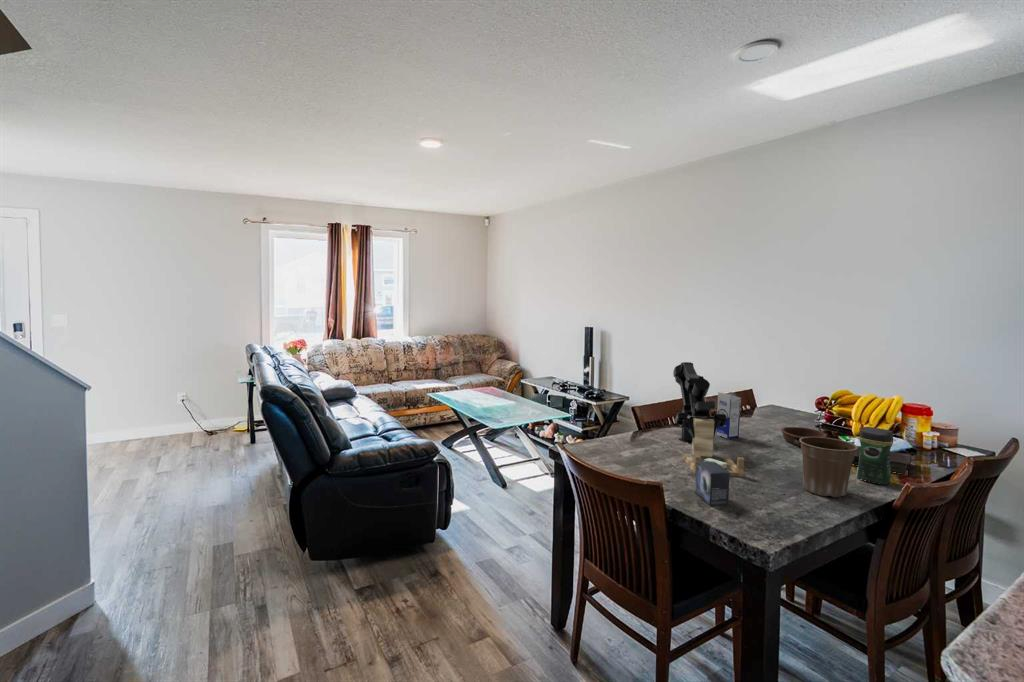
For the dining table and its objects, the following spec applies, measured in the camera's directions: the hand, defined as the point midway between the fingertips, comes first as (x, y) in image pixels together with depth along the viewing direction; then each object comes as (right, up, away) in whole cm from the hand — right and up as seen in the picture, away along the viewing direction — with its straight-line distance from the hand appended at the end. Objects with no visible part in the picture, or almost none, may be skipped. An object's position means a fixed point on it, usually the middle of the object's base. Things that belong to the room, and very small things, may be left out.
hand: (703, 438), depth 205 cm
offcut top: (-2, -7, -15) cm, 17 cm away
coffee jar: (+51, -11, -22) cm, 56 cm away
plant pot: (+28, -12, -32) cm, 44 cm away
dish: (+52, -7, +25) cm, 58 cm away
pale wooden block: (0, -7, +2) cm, 7 cm away
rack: (-2, -9, -12) cm, 15 cm away
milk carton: (+22, -5, +32) cm, 39 cm away
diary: (+62, -10, -2) cm, 63 cm away
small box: (-12, -12, -40) cm, 43 cm away
